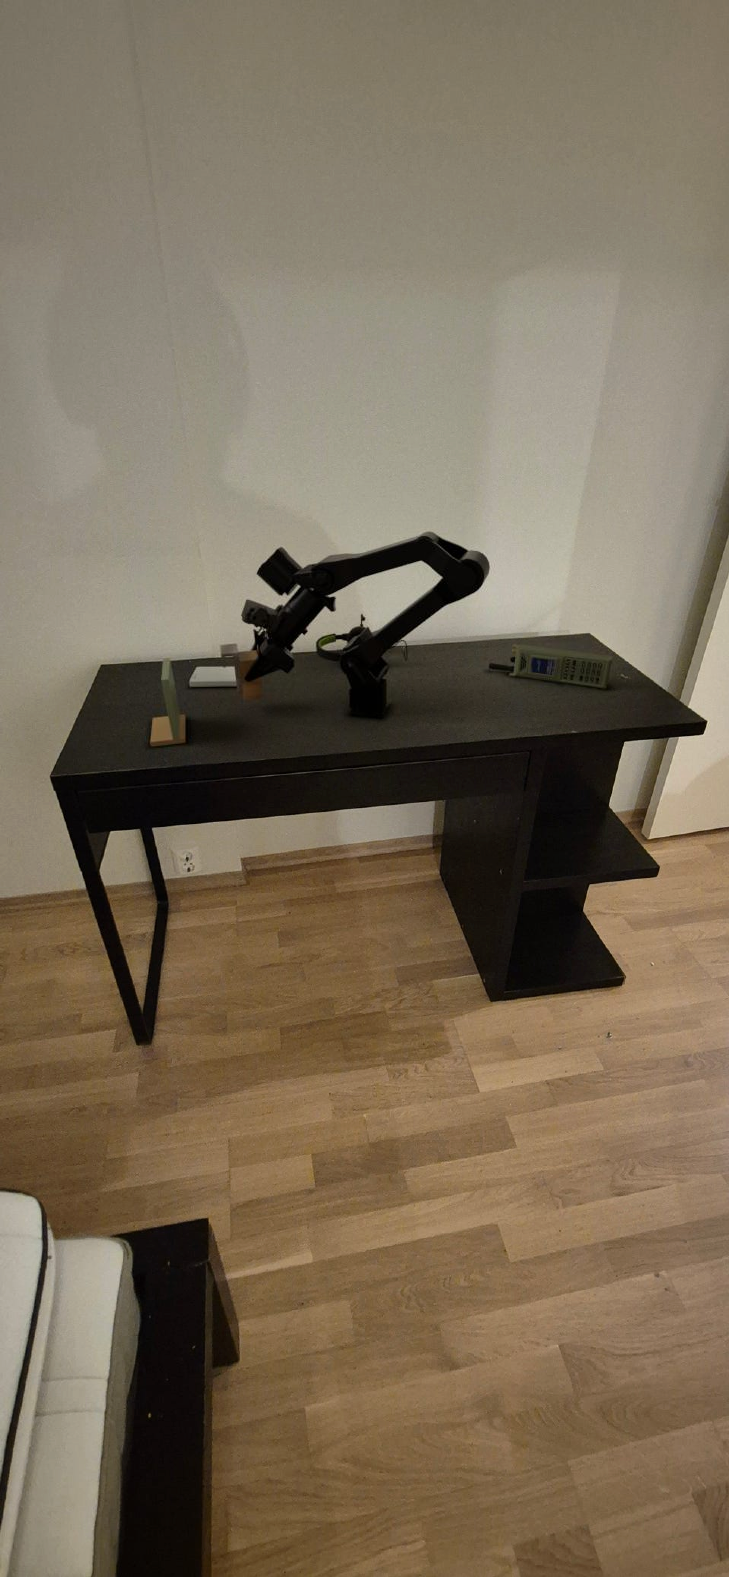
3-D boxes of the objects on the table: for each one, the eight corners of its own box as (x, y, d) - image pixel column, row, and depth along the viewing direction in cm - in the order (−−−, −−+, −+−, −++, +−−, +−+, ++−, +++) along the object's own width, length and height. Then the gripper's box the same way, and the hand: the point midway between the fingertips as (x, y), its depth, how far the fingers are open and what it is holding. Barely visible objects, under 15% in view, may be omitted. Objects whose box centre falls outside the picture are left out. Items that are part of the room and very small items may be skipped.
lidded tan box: (260, 688, 131) (255, 641, 126) (262, 698, 127) (257, 650, 122) (226, 691, 130) (220, 644, 125) (227, 702, 126) (221, 654, 121)
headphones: (409, 629, 141) (315, 633, 140) (407, 671, 146) (318, 675, 145) (399, 606, 154) (313, 610, 153) (398, 646, 160) (316, 649, 158)
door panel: (185, 719, 127) (174, 657, 121) (185, 743, 119) (173, 678, 112) (153, 722, 126) (141, 660, 120) (151, 746, 118) (137, 682, 111)
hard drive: (188, 680, 139) (247, 679, 139) (196, 666, 146) (252, 665, 146) (190, 688, 140) (248, 687, 140) (198, 673, 147) (253, 672, 147)
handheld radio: (605, 690, 136) (486, 673, 144) (607, 685, 139) (490, 669, 147) (612, 659, 133) (489, 644, 141) (613, 654, 135) (493, 639, 143)
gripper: (259, 572, 126) (209, 633, 130) (269, 599, 111) (212, 668, 115) (303, 609, 132) (253, 666, 136) (318, 640, 116) (262, 704, 120)
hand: (245, 675), depth 126 cm, fingers closed on lidded tan box, 5 cm apart
